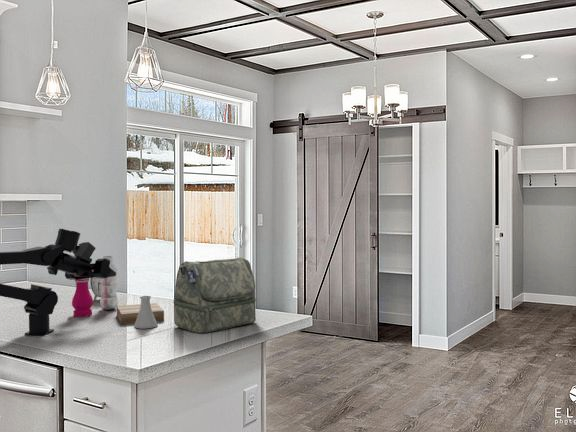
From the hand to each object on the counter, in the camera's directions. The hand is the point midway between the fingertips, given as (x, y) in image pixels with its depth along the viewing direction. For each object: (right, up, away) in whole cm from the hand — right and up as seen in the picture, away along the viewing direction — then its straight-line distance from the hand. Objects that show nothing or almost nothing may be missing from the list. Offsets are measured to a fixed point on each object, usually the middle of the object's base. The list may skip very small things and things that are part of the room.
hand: (106, 274), depth 211 cm
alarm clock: (-13, -14, +42) cm, 46 cm away
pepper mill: (-11, -15, +9) cm, 21 cm away
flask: (+16, -16, -12) cm, 26 cm away
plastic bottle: (-5, -15, +19) cm, 25 cm away
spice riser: (+11, -15, +2) cm, 19 cm away
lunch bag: (+39, -16, -11) cm, 43 cm away
